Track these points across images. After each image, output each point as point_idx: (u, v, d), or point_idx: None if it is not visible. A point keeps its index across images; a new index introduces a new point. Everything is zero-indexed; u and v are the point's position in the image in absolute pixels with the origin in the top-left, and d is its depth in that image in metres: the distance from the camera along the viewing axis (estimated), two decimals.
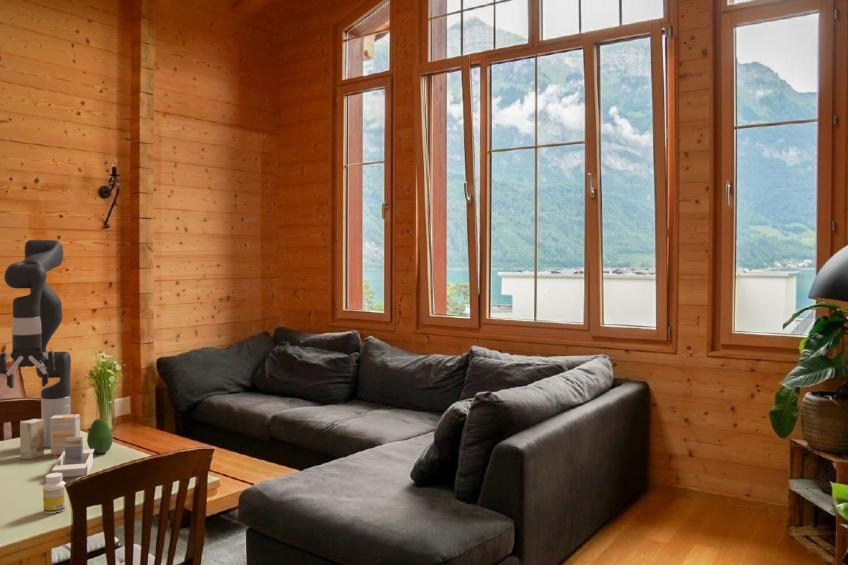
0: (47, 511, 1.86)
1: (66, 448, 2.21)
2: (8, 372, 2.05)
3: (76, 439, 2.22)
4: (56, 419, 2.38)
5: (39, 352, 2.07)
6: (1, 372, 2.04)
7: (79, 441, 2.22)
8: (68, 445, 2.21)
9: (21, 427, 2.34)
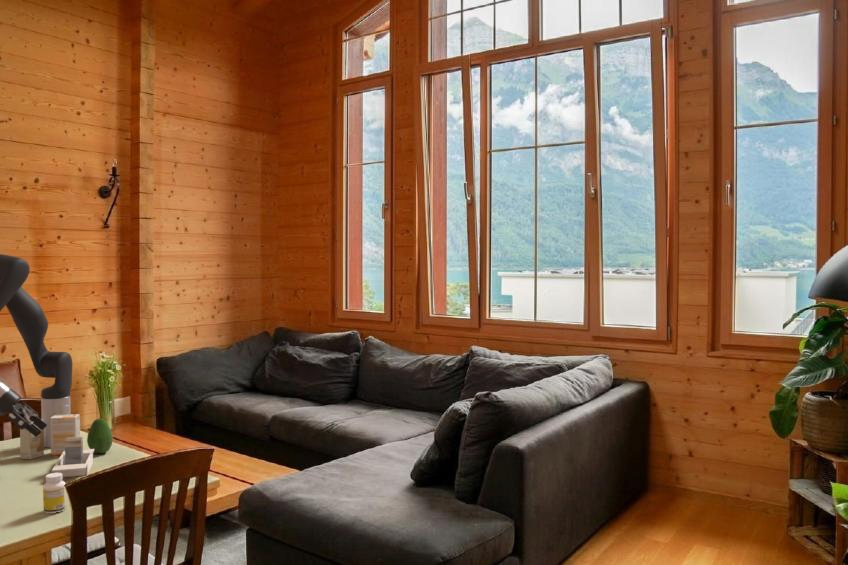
0: (47, 511, 1.86)
1: (66, 448, 2.20)
2: None
3: (76, 439, 2.22)
4: (56, 419, 2.38)
5: (9, 414, 2.14)
6: None
7: (79, 441, 2.22)
8: (68, 445, 2.21)
9: None
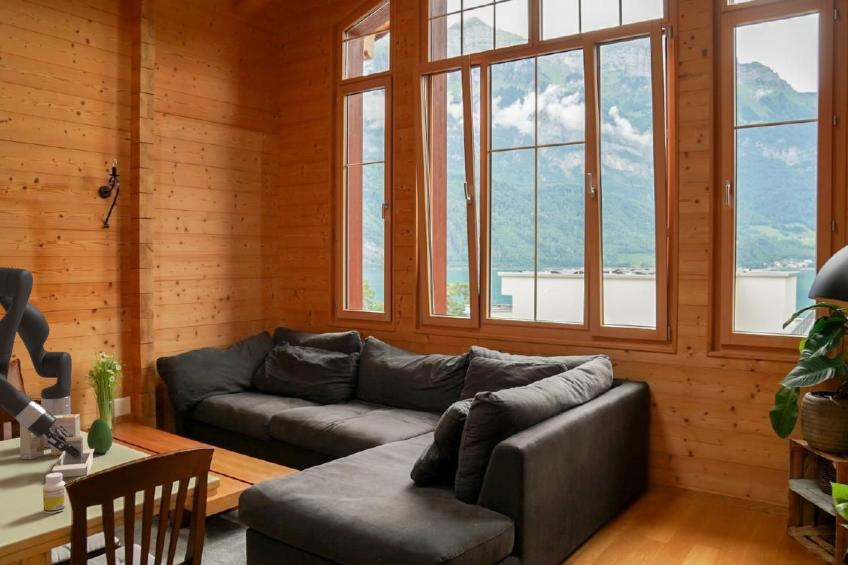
0: (47, 511, 1.86)
1: None
2: None
3: (76, 439, 2.22)
4: None
5: (46, 436, 2.17)
6: None
7: (79, 441, 2.22)
8: None
9: (21, 427, 2.34)
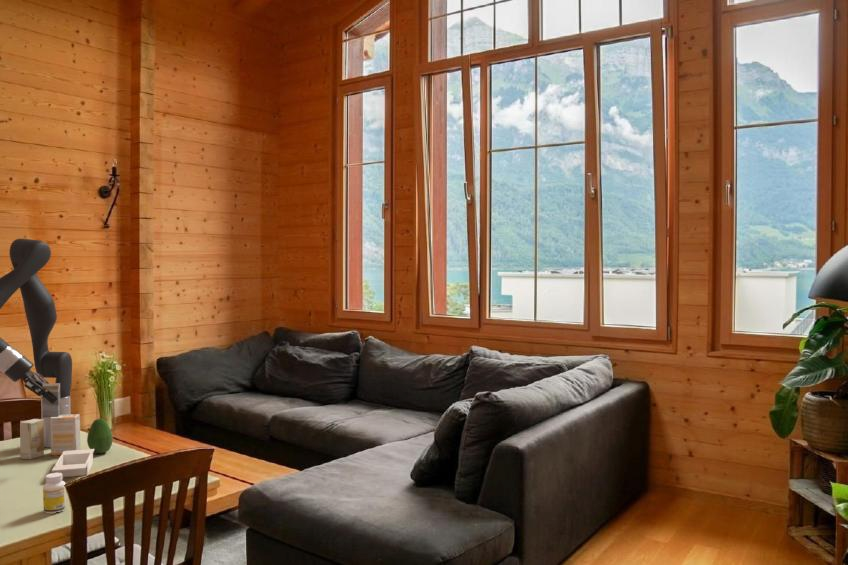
0: (47, 511, 1.86)
1: None
2: None
3: (53, 385, 2.23)
4: (56, 419, 2.38)
5: None
6: None
7: (56, 386, 2.22)
8: None
9: (21, 427, 2.34)
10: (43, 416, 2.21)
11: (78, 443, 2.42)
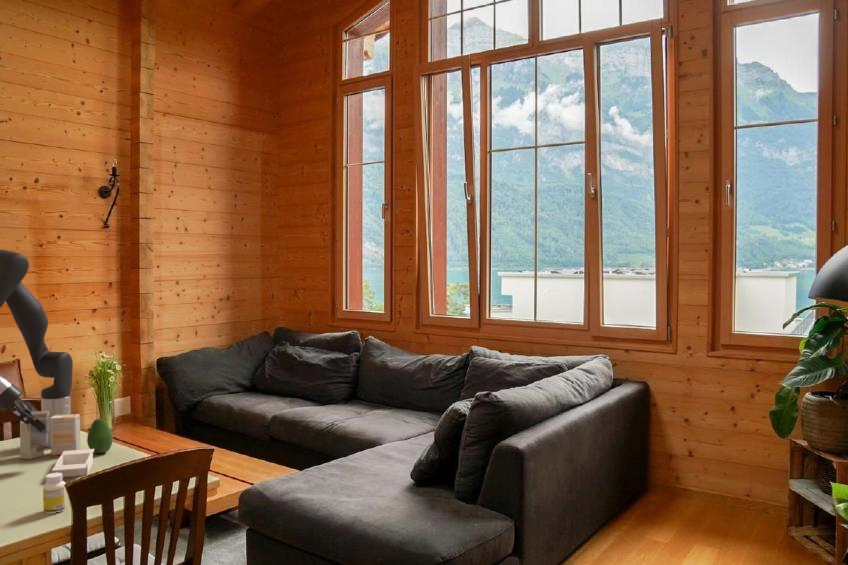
0: (47, 511, 1.86)
1: None
2: None
3: (42, 413, 2.24)
4: (56, 419, 2.38)
5: None
6: None
7: (45, 415, 2.23)
8: None
9: (21, 427, 2.34)
10: (31, 444, 2.22)
11: (78, 443, 2.42)
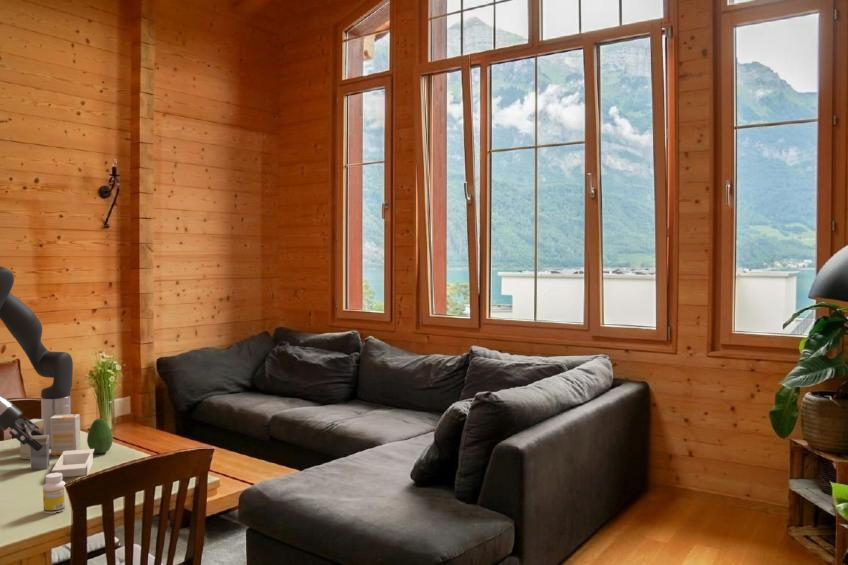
0: (47, 511, 1.86)
1: None
2: None
3: (42, 437, 2.24)
4: (56, 419, 2.38)
5: None
6: None
7: (45, 439, 2.23)
8: None
9: None
10: (32, 469, 2.23)
11: (78, 443, 2.42)
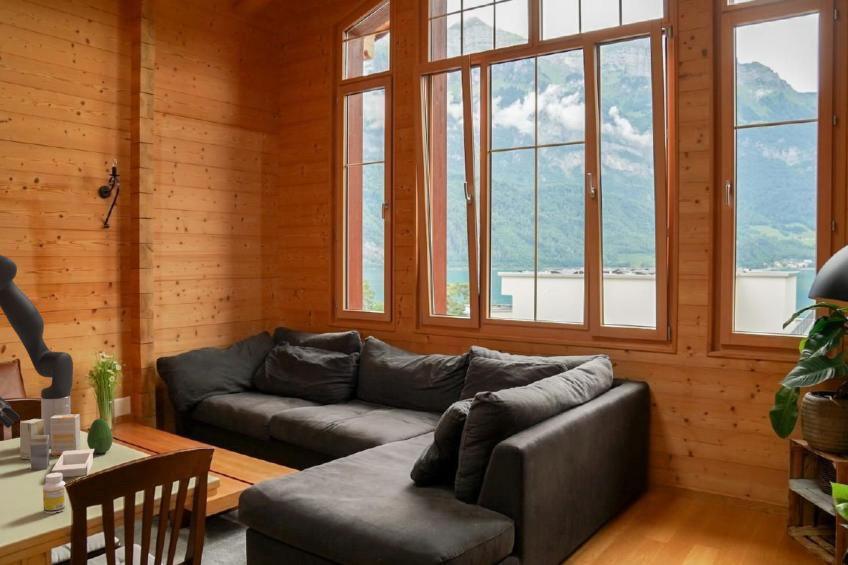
0: (47, 511, 1.86)
1: (32, 446, 2.22)
2: None
3: (42, 437, 2.24)
4: (56, 419, 2.38)
5: None
6: None
7: (45, 439, 2.23)
8: (34, 443, 2.22)
9: (21, 427, 2.34)
10: (32, 469, 2.23)
11: (78, 443, 2.41)
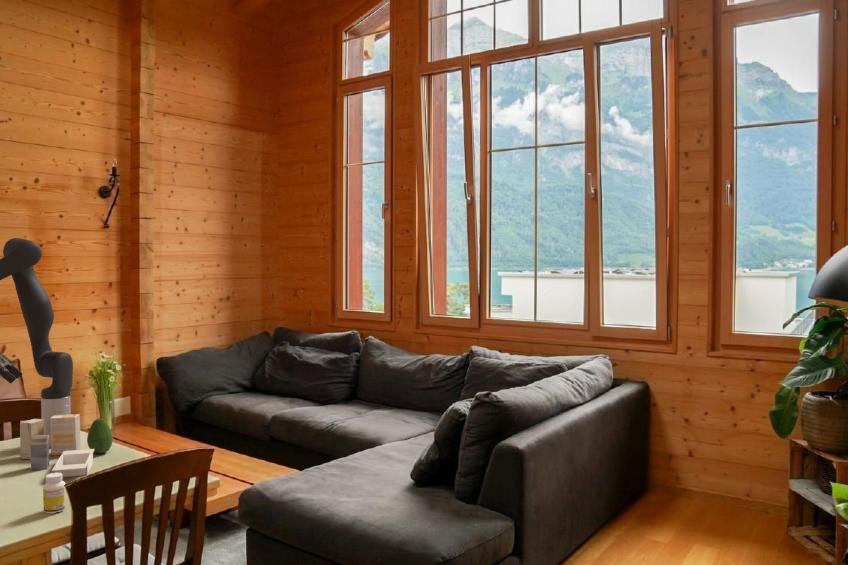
0: (47, 511, 1.86)
1: (32, 446, 2.22)
2: None
3: (42, 437, 2.24)
4: (56, 419, 2.38)
5: None
6: None
7: (45, 439, 2.23)
8: (34, 443, 2.22)
9: (21, 427, 2.34)
10: (32, 469, 2.23)
11: (78, 443, 2.42)
